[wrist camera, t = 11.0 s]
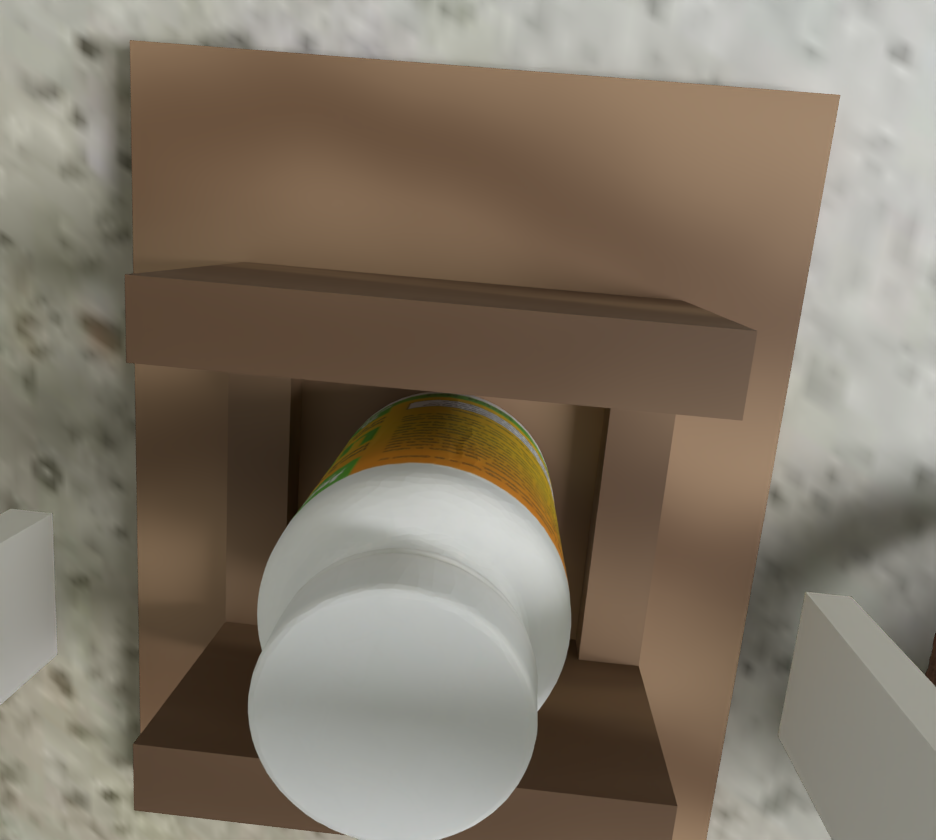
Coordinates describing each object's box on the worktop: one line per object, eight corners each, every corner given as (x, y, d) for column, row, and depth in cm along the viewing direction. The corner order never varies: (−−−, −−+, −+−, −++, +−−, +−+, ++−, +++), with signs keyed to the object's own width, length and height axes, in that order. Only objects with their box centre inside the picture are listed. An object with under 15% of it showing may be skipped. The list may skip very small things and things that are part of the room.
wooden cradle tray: (694, 832, 23) (768, 1081, 16) (156, 770, 24) (11, 985, 17) (823, 102, 18) (1001, 26, 12) (149, 49, 19) (-54, -51, 12)
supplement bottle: (372, 358, 19) (246, 480, 10) (581, 426, 20) (651, 610, 10) (314, 553, 21) (153, 825, 11) (511, 615, 21) (515, 935, 11)
